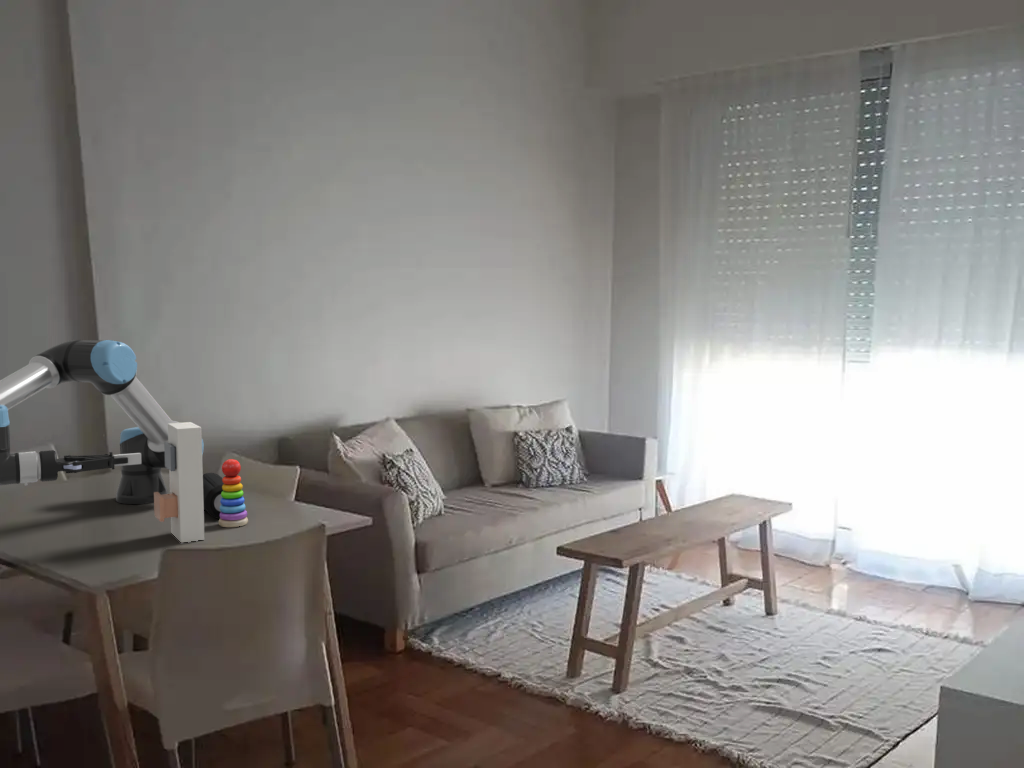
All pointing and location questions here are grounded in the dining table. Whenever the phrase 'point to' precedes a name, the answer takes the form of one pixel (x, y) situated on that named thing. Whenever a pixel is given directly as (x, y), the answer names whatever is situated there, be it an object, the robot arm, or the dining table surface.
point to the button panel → (187, 481)
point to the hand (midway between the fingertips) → (140, 458)
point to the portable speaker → (212, 493)
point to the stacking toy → (232, 496)
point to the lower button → (165, 506)
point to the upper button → (170, 456)
